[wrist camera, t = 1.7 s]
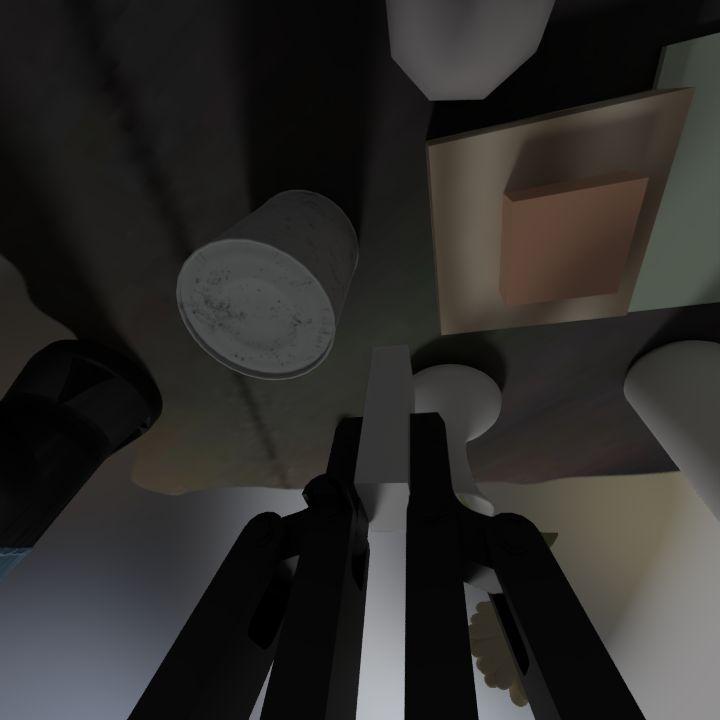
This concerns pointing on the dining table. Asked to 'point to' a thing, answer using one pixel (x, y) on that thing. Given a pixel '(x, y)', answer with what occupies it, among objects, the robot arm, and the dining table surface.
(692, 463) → the alcohol
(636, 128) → the birch board
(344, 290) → the white cylinder
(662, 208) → the rubber mat
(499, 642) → the flower in vase
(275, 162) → the dining table surface
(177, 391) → the dining table surface
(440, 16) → the potion bottle
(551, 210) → the terracotta tile
